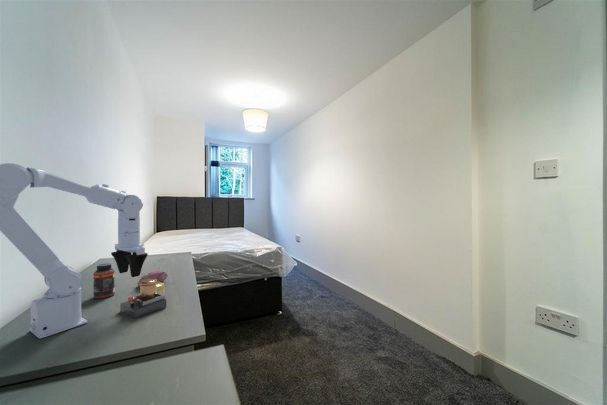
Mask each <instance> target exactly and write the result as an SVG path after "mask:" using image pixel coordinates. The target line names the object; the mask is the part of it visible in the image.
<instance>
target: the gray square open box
mask: <svg viewBox="0 0 607 405" xmlns="http://www.w3.org/2000/svg"><path fill="white" fill-rule="evenodd" d="M119 308H120V312H121V313H122V314H125V315H127V316H129V317H132V318H134V320H135V319H139V318H142V317H144V316H146V315H149V314H153V313H154V312H157V311H160V310H163V309H165V308H167V298H166V295H165V294H164V295H163V294H160V293H157V297H155V298H152V299H149V300H146V301H142V300H140V294H136V295H134V296H130V297H128V298H127V301H124V302H122V303H120V307H119Z"/></svg>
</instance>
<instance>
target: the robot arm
mask: <svg viewBox="0 0 607 405" xmlns="http://www.w3.org/2000/svg"><path fill="white" fill-rule="evenodd" d="M29 185H30V186H29ZM27 187H30V188H32V189H34V188H46V187H47V188H52V189H55V190H59V191H62V192H67V193H71V194H74V195H78V196H83V197H84V198H85V199H86V200H87V201H88V203H90V204H94V205H97V206H101V207H104V208H108V209H112V210H117V214H118V216H117V217H118V218H117V243H115V244H114V251H113V252H111V253H110V254H111V256H112V257H113V259H114V260H115V264H116V267H117V269H118V273H119V274H124V273H128V271H130V272H129V273H130V276H131V278H135V277H139V276H140V275H141V272H142V268H143V265H144V263H145V261H146V259H147V257H148V256H149V255H148V254H149V253H148V252H146V249H145V246H144V243H141V232H140V231H141V222H140V221H141V217H140V212H141V211H142V209H143V206H144V203H143V202H142V200H141V198H139V196H138V195H134V194H127V192H126V191H125V190H121V191H119V190H117V189H114V188H111V187H109V185H108V184H105V183H103V184H95V185H92V186H90V185H87V184H84V183H81V182H77V181H75V180H72V179H69V178H67V177H64V176H62V175H61V176H60V175H57V174H55V173H52V172H50V171H49V172H48V171H46V170H41V169H37V168H32V167H28V166H27V167H24V166H23V165H19V164H16V163H1V164H0V233H1V234H3V235H4V236H5V237H6V238H7V239H8V240H9V242H10V243H12V245H13V246H15V248H16V249H17V250H18V251H19V252H20V253H21V254H22V255H23V256H24V257H25V258H26V259H27V260H28V262H30V263H31V264H32V265H33V266H34V267H35V268H36V269H37V271H39V273H40V274H41V275H42V276H43V281H44V284H45V285H46V286H47V287H48V289H47V290H46V291H45V293H44V295H43V297H40V298H37V299H34V300H32V301H31V303H30V329H29V332H31V333H32V334H33V335H34V336H35V337H37V338H38V339H39V340H40V339H44V338H47V337H49V336H52V335H56V334H58V333H62V332H64V331H67V330H70V329H74V328H75V327H79V326H82V325H85V324H87V323H88V319H85V318H84V317H82V284H83V281H84V280H83V276H82V275H81V274H80V273H79V272H78V271H76V270H75V269H74V268H73V267H71V266H69V265H66V264H65V263H64V262H63V261H62V260H61V259H60V258H59V257H58V256H57V254H56V253H55V252H54V251H53V250H52V248H50V246H49V245H47V243H46V242H45V241H44V240H43V239H42V238H41V237H40V236H39V235H38V233H37V232H36V231H35V230H34V229H33V228H32V226H30V225H29V223H28V222H27V221H26V220H25V219H24V218H23V216H21V214H20V213H19V212H18V211H17V210H16V208H14V206H15V204H16V202H17V200H18V198H19V195H20V194H21V193H22V192H23V191H24V190H25V189H26V188H27Z"/></svg>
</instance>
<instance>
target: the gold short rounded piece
mask: <svg viewBox="0 0 607 405" xmlns="http://www.w3.org/2000/svg"><path fill="white" fill-rule="evenodd" d="M157 293H160V294H163V295H165V283H164V282H157Z"/></svg>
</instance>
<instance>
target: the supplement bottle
mask: <svg viewBox="0 0 607 405" xmlns="http://www.w3.org/2000/svg"><path fill="white" fill-rule="evenodd" d="M92 275H93V278H92V280H93V286H92V287H93V288H92V289H93V291H92V292H93V298H94V299H98V300H99V299H101V300H103V299H106V298H110V297H112V296H113V295H115V293H116V280H115V278H116V270H115V269H114V268H112V263H110V262H106V263H100V264H97V265H96V270H95V271H94V273H93V274H92Z"/></svg>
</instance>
